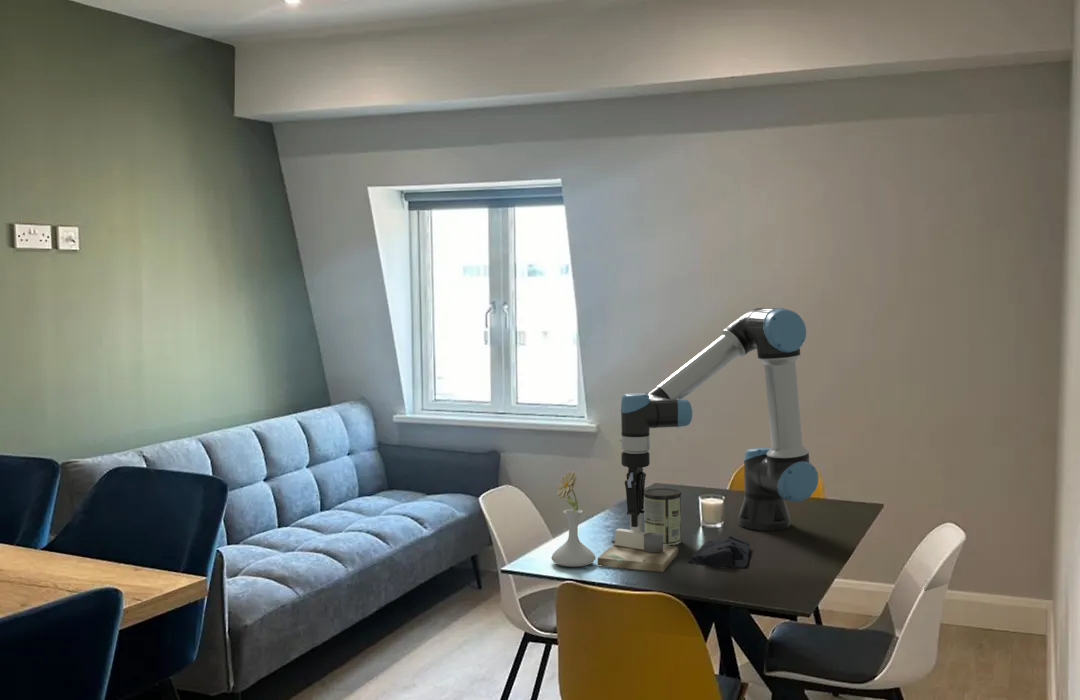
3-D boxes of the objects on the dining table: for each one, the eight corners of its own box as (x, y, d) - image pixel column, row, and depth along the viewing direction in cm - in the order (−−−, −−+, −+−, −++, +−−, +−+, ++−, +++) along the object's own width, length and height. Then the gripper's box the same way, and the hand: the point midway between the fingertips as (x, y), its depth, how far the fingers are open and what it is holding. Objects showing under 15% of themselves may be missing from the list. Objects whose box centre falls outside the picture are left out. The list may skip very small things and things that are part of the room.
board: (677, 554, 265) (677, 546, 265) (661, 572, 248) (661, 564, 248) (616, 548, 271) (616, 541, 271) (596, 566, 254) (596, 558, 254)
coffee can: (650, 535, 285) (650, 486, 284) (685, 539, 281) (685, 489, 280) (638, 544, 276) (638, 493, 275) (674, 548, 271) (674, 496, 270)
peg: (666, 549, 261) (666, 534, 261) (657, 553, 257) (657, 538, 257) (617, 541, 270) (617, 526, 270) (608, 545, 266) (607, 530, 265)
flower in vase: (551, 558, 263) (550, 464, 261) (595, 558, 262) (594, 463, 261) (550, 572, 250) (549, 473, 248) (596, 572, 249) (595, 473, 248)
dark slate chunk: (758, 550, 271) (758, 532, 270) (745, 572, 250) (745, 553, 250) (702, 545, 276) (702, 528, 276) (685, 566, 255) (685, 548, 255)
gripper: (628, 446, 275) (628, 531, 276) (615, 454, 263) (615, 542, 264) (655, 448, 272) (655, 533, 274) (642, 455, 260) (642, 545, 261)
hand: (635, 537), depth 269 cm, fingers closed
